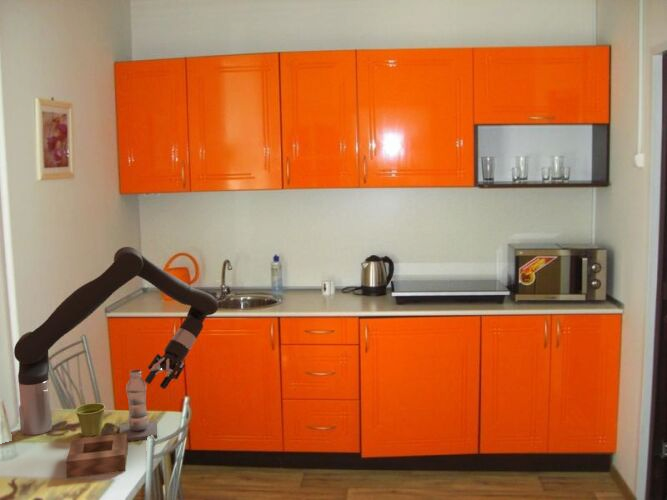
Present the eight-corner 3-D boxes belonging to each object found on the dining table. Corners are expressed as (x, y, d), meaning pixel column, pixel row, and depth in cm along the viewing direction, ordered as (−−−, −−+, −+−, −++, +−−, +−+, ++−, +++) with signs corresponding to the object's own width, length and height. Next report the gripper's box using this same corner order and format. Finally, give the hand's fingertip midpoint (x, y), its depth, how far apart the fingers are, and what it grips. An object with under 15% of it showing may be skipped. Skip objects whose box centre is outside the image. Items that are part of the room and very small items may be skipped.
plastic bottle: (143, 434, 220) (140, 374, 217) (124, 432, 221) (121, 373, 219) (152, 426, 226) (149, 368, 224) (134, 425, 228) (131, 367, 225)
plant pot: (100, 439, 219) (99, 413, 218) (72, 439, 219) (70, 413, 218) (110, 427, 228) (109, 403, 227) (83, 427, 229) (81, 403, 227)
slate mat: (118, 442, 216) (118, 439, 216) (120, 427, 228) (120, 425, 228) (157, 437, 219) (156, 434, 219) (157, 423, 231) (156, 421, 231)
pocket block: (66, 478, 192) (65, 461, 191) (73, 454, 207) (72, 439, 207) (125, 471, 196) (124, 454, 195) (127, 448, 211) (126, 433, 211)
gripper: (161, 335, 236) (135, 375, 229) (186, 342, 227) (159, 384, 220) (174, 346, 241) (149, 386, 234) (200, 353, 232) (174, 395, 225)
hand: (154, 385), depth 227 cm, fingers open, 8 cm apart
